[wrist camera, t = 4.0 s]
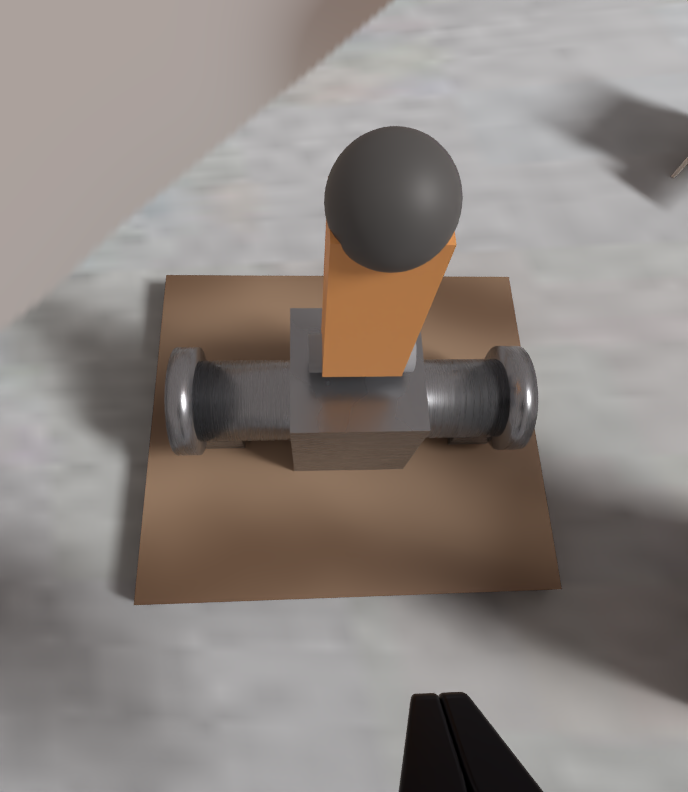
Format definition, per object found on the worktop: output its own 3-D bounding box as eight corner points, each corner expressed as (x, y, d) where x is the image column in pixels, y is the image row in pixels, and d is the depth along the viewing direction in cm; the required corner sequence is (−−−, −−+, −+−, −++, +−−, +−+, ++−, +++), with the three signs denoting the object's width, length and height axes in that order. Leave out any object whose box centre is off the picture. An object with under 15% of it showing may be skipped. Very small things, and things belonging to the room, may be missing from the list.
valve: (503, 467, 22) (560, 428, 17) (188, 473, 21) (150, 435, 16) (489, 369, 23) (537, 308, 18) (195, 371, 23) (163, 308, 18)
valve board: (548, 589, 21) (561, 589, 20) (143, 604, 20) (133, 604, 19) (500, 290, 26) (508, 276, 25) (172, 289, 25) (166, 275, 24)
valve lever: (412, 398, 16) (508, 213, 9) (309, 399, 16) (309, 210, 8) (405, 324, 17) (487, 94, 9) (308, 324, 17) (307, 89, 9)
